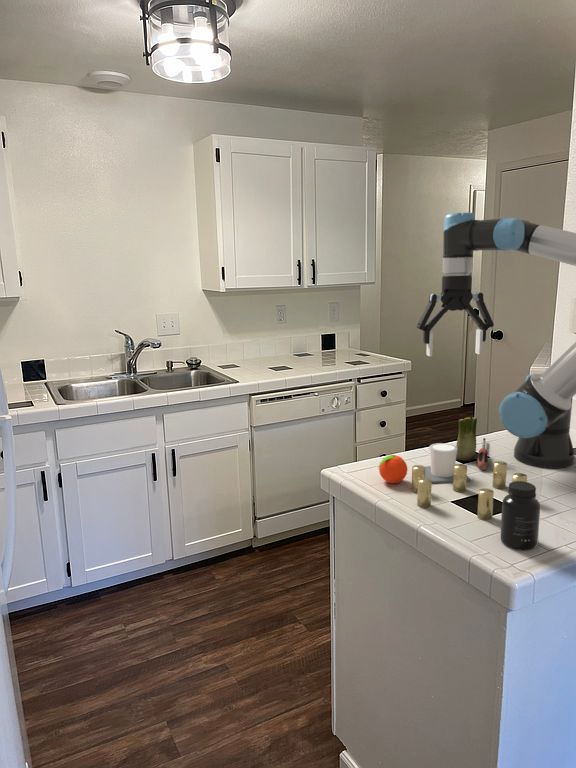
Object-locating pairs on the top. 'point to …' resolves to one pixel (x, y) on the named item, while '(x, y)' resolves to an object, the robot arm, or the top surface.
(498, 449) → the top surface
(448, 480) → the slate mat
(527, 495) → the supplement bottle
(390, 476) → the clementine
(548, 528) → the top surface
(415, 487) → the spacer field
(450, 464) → the white cup
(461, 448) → the fennel bulb
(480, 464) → the screwdriver
